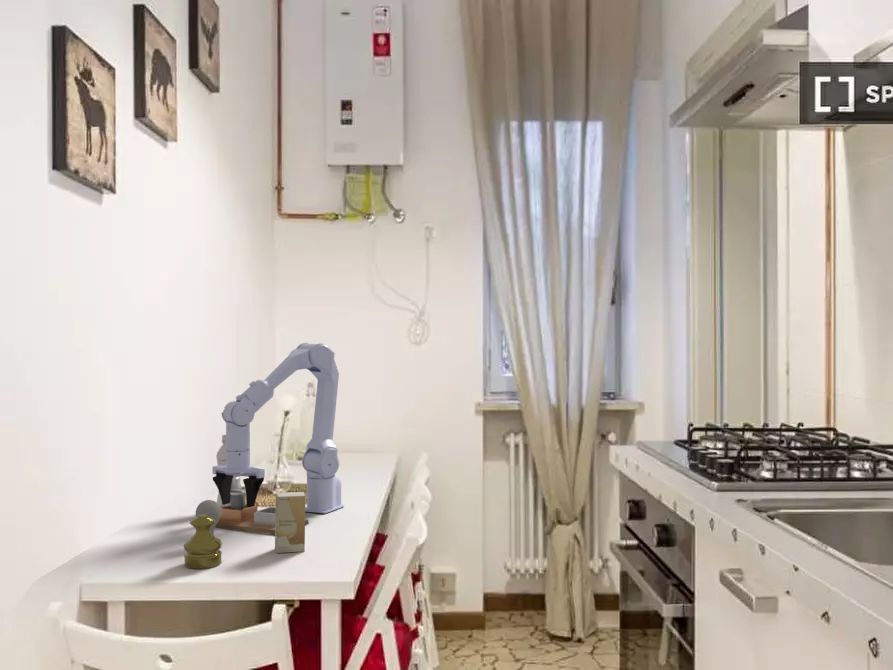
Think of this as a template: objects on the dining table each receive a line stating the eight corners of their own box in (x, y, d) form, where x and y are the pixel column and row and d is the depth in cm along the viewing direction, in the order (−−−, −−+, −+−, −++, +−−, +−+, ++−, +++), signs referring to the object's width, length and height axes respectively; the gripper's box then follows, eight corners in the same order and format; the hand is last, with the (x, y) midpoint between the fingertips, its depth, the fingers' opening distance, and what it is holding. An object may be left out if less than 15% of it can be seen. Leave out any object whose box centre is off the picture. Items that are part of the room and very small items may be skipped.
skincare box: (275, 553, 175) (275, 496, 175) (274, 548, 180) (274, 492, 179) (306, 551, 177) (306, 494, 177) (304, 546, 181) (304, 490, 181)
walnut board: (236, 515, 211) (236, 511, 211) (308, 524, 202) (308, 519, 202) (204, 526, 200) (204, 522, 200) (278, 535, 191) (278, 531, 191)
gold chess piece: (225, 559, 172) (225, 511, 172) (216, 569, 164) (216, 519, 164) (189, 559, 172) (189, 511, 172) (179, 569, 164) (179, 519, 164)
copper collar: (236, 515, 208) (236, 503, 208) (257, 517, 205) (257, 505, 205) (219, 520, 202) (219, 508, 202) (240, 523, 199) (240, 510, 199)
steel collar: (270, 518, 203) (270, 506, 203) (292, 521, 201) (292, 509, 201) (254, 524, 198) (253, 512, 198) (276, 527, 195) (276, 514, 195)
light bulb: (211, 540, 187) (211, 496, 186) (226, 544, 183) (226, 499, 183) (190, 545, 182) (190, 500, 182) (205, 549, 179) (204, 503, 179)
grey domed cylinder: (237, 516, 206) (236, 488, 206) (248, 518, 204) (248, 489, 204) (227, 519, 203) (227, 491, 203) (239, 521, 201) (238, 492, 201)
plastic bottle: (236, 514, 213) (235, 437, 213) (212, 513, 214) (211, 436, 214) (247, 509, 219) (246, 434, 219) (223, 508, 220) (223, 433, 220)
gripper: (203, 450, 203) (204, 505, 203) (251, 454, 197) (251, 510, 197) (223, 446, 209) (223, 500, 209) (269, 450, 203) (270, 505, 203)
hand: (238, 505), depth 203 cm, fingers open, 7 cm apart
